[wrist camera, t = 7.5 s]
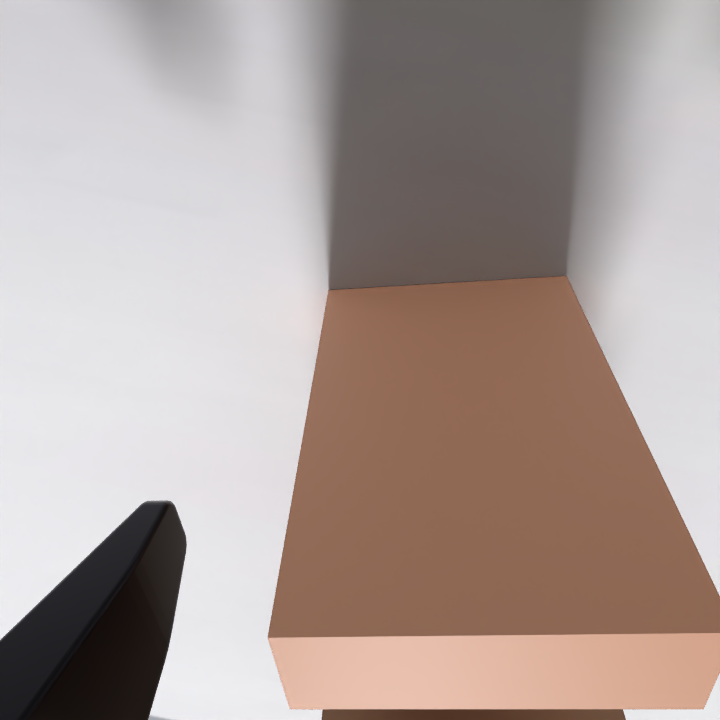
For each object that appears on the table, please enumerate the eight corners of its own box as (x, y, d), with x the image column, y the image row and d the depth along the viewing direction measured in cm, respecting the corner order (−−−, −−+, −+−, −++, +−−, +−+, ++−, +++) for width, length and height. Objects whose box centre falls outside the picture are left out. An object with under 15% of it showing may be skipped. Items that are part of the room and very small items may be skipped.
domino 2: (545, 439, 16) (652, 811, 9) (539, 484, 17) (633, 851, 10) (346, 445, 16) (314, 804, 10) (351, 488, 17) (325, 844, 11)
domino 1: (566, 276, 13) (736, 632, 7) (559, 339, 14) (703, 709, 7) (328, 289, 14) (267, 637, 7) (336, 351, 14) (290, 709, 8)
